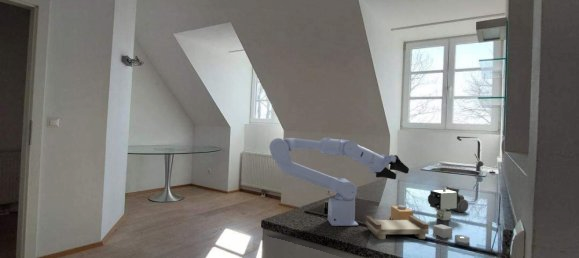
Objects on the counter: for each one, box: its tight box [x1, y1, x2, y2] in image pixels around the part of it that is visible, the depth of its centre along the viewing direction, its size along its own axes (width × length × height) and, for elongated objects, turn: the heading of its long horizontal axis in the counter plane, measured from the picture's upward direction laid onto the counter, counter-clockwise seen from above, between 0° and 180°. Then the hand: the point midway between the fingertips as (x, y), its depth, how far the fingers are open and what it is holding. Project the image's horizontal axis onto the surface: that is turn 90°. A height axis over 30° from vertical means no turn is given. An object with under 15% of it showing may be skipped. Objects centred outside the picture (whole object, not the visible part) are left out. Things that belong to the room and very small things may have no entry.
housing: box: [388, 204, 414, 220], centre depth 116 cm, size 5×10×6 cm, turn 5°
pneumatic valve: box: [427, 187, 460, 222], centre depth 121 cm, size 6×12×12 cm, turn 108°
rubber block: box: [432, 223, 453, 239], centre depth 102 cm, size 4×4×3 cm
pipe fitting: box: [446, 185, 469, 214], centre depth 136 cm, size 12×8×10 cm
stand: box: [365, 215, 430, 240], centre depth 103 cm, size 17×10×4 cm, turn 95°
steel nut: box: [454, 234, 471, 246], centre depth 95 cm, size 4×4×2 cm
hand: (401, 174), depth 116 cm, fingers open, 7 cm apart
